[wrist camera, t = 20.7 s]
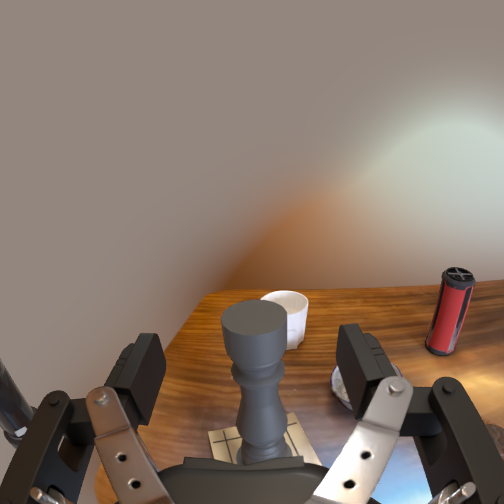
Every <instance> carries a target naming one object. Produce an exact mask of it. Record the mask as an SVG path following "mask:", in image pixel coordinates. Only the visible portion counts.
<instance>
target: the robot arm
mask: <svg viewBox="0 0 504 504" xmlns="http://www.w3.org/2000/svg"><path fill="white" fill-rule="evenodd" d="M336 361H337V366H338V369H339V372H340V374H341V377H342V380H343V383H344V386H345V389H346V392H347V395H348V398H349V401H350V404H351V407H352V410H353V413H354V416H355V419H361V418H362V420H360V421H359V422H358V424H357V425H356V427H355V429H354V431H353V432H352V434H351V436H350V438H349V439H348V441H347V443H346V444H345V446H344V448H343V449H342V451H341V453H340V454H339V456H338V458H337V459H336V461H335V462H334V464H333V465H332V467H331V468H330V469H328V468H326V467H324V466H321V465H317V464H312V463H305V462H304V456H303V455H301V456H291V457H279V458H271V459H268V460H264V461H260V462H256V463H251V464H247V465H238V464H234V463H229V462H225V461H220V460H216V459H211V458H193V457H184V462H183V464H180V465H176V466H172V467H169V468H166V469H164V470H162V471H160V470H159V468H158V467H157V465H156V463H155V462H154V460H153V458H152V457H151V455H150V453H149V452H148V450H147V448H146V446H145V444H144V442H143V441H142V439H141V437H140V435H139V433H138V431H137V428H138V425H147V426H148V424H149V421H150V418H151V414H152V411H153V408H154V405H155V402H156V399H157V396H158V393H159V390H160V387H161V384H162V381H163V378H164V375H165V372H166V360H165V356H164V353H163V350H162V346H161V343H160V339H159V336H158V335H157V334H155V333H140V335H139V336H138V338H137V340H136V342H135V344H133V343H131V344H130V345H128V346H127V347H126V348H125V349H124V350H123V351H122V353H121V355H120V356H119V359H118V360H117V362H116V365H115V366H114V367H113V369H112V371H111V373H110V375H109V377H108V379H107V380H106V383H105V384H104V386H103V387H98V388H95V389H93V390H92V391H91V392H89V394H88V395H87V397H86V398H82V399H70V398H69V396H68V395H67V393H65V392H64V391H53V392H50V393H49V394H47V395H46V396H45V397H44V399H43V400H42V402H41V404H40V406H39V407H38V409H37V411H36V413H35V412H34V411H33V410H32V408H31V407H30V405H29V404H28V403H27V401H26V400H25V398H24V397H23V395H22V394H21V392H20V391H19V389H18V388H17V386H16V384H15V383H14V381H13V380H12V378H11V376H10V375H9V373H8V371H7V370H6V368H5V366H4V364H3V362H2V361H1V359H0V427H1V428H2V429H3V430H4V431H5V433H8V434H9V436H10V437H11V438H13V439H14V440H18V441H20V443H19V446H18V448H17V450H16V452H15V454H14V456H13V458H12V461H11V463H10V465H9V467H8V469H7V472H6V474H5V476H4V479H3V481H2V484H1V486H0V504H77V500H78V497H79V493H80V490H81V487H82V483H83V480H84V477H85V473H86V470H87V467H88V464H89V461H90V458H91V455H92V452H93V449H94V446H96V449H97V451H98V454H99V457H100V459H101V462H102V464H103V467H104V469H105V472H106V474H107V477H108V479H109V481H110V483H111V486H112V488H113V490H114V492H115V494H116V496H117V499H118V502H116V503H115V504H381V503H379V502H378V501H376V500H375V499H373V498H371V495H372V493H373V491H374V490H375V488H376V486H377V484H378V482H379V480H380V478H381V476H382V474H383V472H384V470H385V467H386V465H387V463H388V461H389V459H390V457H391V454H392V452H393V450H394V447H395V445H396V442H397V440H398V438H399V436H413V439H414V442H415V445H416V447H417V450H418V453H419V456H420V459H421V462H422V465H423V468H424V471H425V474H426V478H427V481H428V484H429V487H430V491H431V494H432V498H433V499H432V500H431V501H430V502H429V503H428V504H504V462H503V460H502V458H501V456H500V454H499V451H498V449H497V447H496V445H495V443H494V441H493V439H492V437H491V435H490V434H489V432H488V430H487V428H486V426H485V424H484V422H483V420H482V419H481V417H480V415H479V413H478V411H477V410H476V408H475V406H474V404H473V403H472V401H471V399H470V397H469V396H468V394H467V392H466V391H465V389H464V387H463V386H462V384H461V383H460V382H459V381H458V380H456V379H454V378H451V377H441V378H439V379H437V380H436V381H435V382H434V384H433V386H432V387H414V386H412V384H411V383H410V382H409V381H408V380H407V379H405V378H402V377H399V376H397V374H396V372H395V370H394V368H393V367H392V365H391V363H390V361H389V359H388V358H387V356H386V354H385V352H384V350H383V349H382V348H381V345H380V343H379V342H378V340H377V339H376V338H375V337H374V336H372V335H371V334H370V333H362V331H361V329H360V327H359V325H358V324H357V323H354V324H346V325H340V327H339V333H338V341H337V349H336ZM62 436H64V439H63V441H62V444H61V446H60V449H59V451H58V445H59V443H60V441H61V439H62Z"/></svg>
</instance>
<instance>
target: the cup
mask: <svg viewBox="0 0 504 504" xmlns="http://www.w3.org/2000/svg"><path fill="white" fill-rule="evenodd" d="M261 300H267V301H272V302H275V303H277V304H279V305H281V306H283V307H284V309H285V310H286V311H287V349H286V350H290V349H297V346H298V345H299V343H300V342H302V341H303V339H304V332H305V324H306V317H307V309H308V299H307V298H306V297H305V296H304V295H302V294H300V293H298V292H293V291H276V292H272V293H269V294H267V295H265V296H264V297H262V298H261Z"/></svg>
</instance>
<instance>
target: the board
mask: <svg viewBox="0 0 504 504" xmlns="http://www.w3.org/2000/svg"><path fill="white" fill-rule="evenodd" d="M286 415H287V418H288V425H287V430H286V432H285V433H284V437H285V441H286V443H287V452H286V457H291V456H301V455H303V456H304V462H305V463H312V464H317V465H321V466H322V464H321V462H320V460H319V459H318V457H317V455H316V453H315V451H314V449H313V448H312V446H311V444H310V442H309V440H308V438H307V436H306V435H305V433H304V431H303V429H302V427H301V425H300V423H299V421H298V419H297V418H296V416H295V414H294V412H291V413H288V414H286ZM208 434H209V439H210V443H211V448H212V452H213V456H214V459H216V460H220V461H225V462H229V463H234V464H238V465H244V462H243V459H242V454H241V443H242V437H241V436H240V435H239V433H238V430H237V427H231V428H226V429H220V430H215V431H209V432H208Z"/></svg>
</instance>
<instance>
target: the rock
mask: <svg viewBox="0 0 504 504" xmlns="http://www.w3.org/2000/svg"><path fill="white" fill-rule="evenodd" d="M485 426H486V428H487V430H488V432H489V434H490V435H491V437H492V439H493V441H494V443H495V445H496V447H497V449H498V451H499V454H500V456H501V458H502V460H503V462H504V429H503V428H502V427H499V426H495V425H492V424H487V425H485Z"/></svg>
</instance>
